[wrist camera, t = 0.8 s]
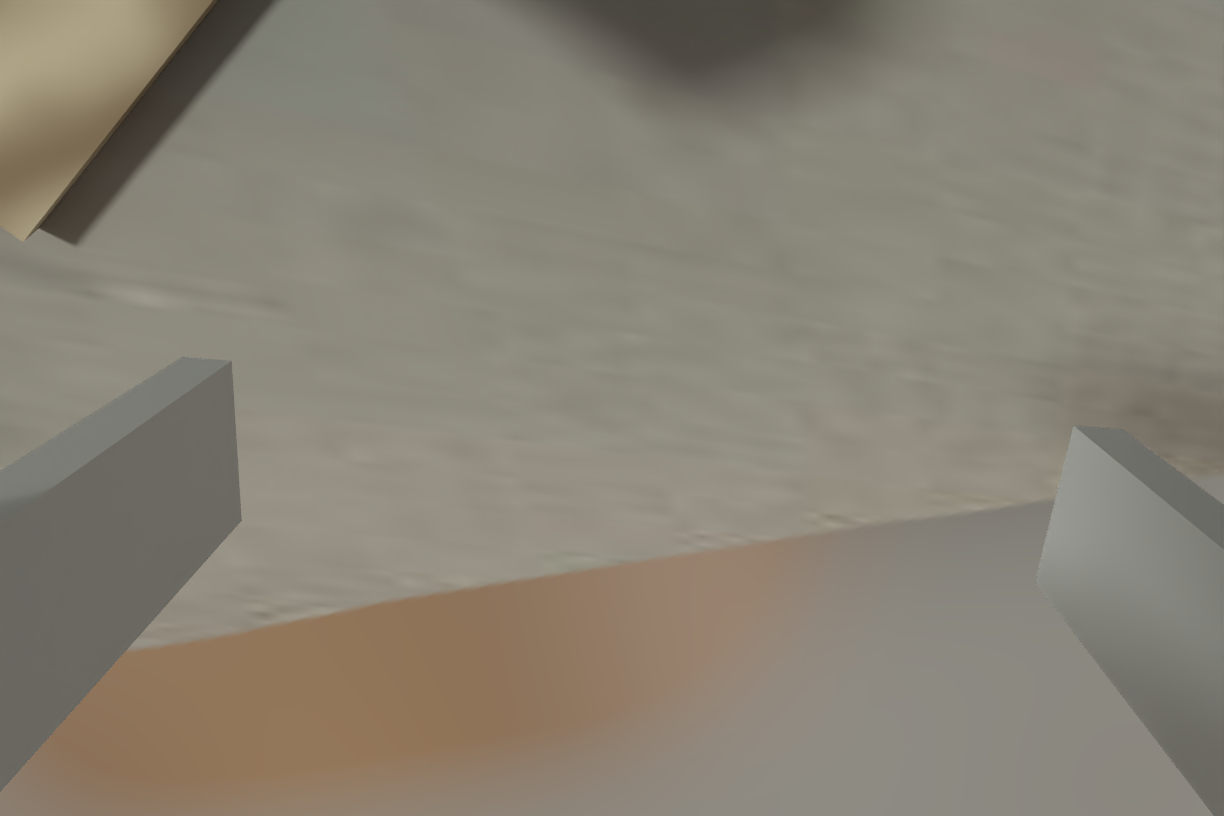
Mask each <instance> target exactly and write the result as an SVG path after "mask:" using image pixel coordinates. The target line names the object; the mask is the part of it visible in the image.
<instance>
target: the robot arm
mask: <svg viewBox="0 0 1224 816" xmlns="http://www.w3.org/2000/svg"><path fill="white" fill-rule="evenodd" d="M241 521H242V520H241V504H240V488H239V472H238V457H237V441H236V425H235V409H234V393H233V378H232V362H231V361H227V360H214V359H201V358H188V357H182V358H180V359H179V360H177V361H175V362H174V363H172V364H171V365H169V366H167V367H166V368H164V369H163V370H161V371H159V372H158V373H156V374H155V375H153V376H151V377H150V378H148V379H147V380H145V381H143V382H142V383H140V384H139V385H137V386H135V387H134V388H132V389H131V390H129V391H127V392H126V393H124V394H123V395H121V396H119V397H118V398H116V399H115V400H113V401H111V402H110V403H108V404H107V405H105V406H103V407H102V408H100V409H99V410H97V411H95V412H94V413H92V414H91V415H89V416H87V417H86V418H84V419H83V420H81V421H79V422H78V423H76V424H75V425H73V426H71V427H70V428H68V429H67V430H65V431H63V432H62V433H60V434H59V435H57V436H55V437H54V438H52V439H51V440H49V441H47V442H46V443H44V444H43V445H41V446H39V447H38V448H36V449H35V450H33V451H31V452H30V453H28V454H27V455H25V456H23V457H22V458H20V459H19V460H17V461H15V462H14V463H12V464H11V465H9V466H7V467H6V468H4V469H3V470H1V471H0V792H1V790H2V789H3V788H4V787H5V786H6V785H7V784H8V782H9V781H10V780H11V779H12V778H13V777H14V776H15V775H16V774H17V772H18V771H19V770H20V769H21V768H22V767H23V766H24V765H25V763H26V762H27V761H28V760H29V759H30V758H31V757H32V756H33V754H34V753H35V752H36V751H37V750H38V749H39V748H40V747H41V745H42V744H43V743H44V742H45V741H46V740H47V739H48V738H49V736H50V735H51V734H52V733H53V732H54V731H55V730H56V729H57V727H58V726H59V725H60V724H61V723H62V722H63V721H64V720H65V718H66V717H67V716H68V715H69V714H70V712H72V711H73V709H74V708H75V707H76V706H77V705H78V704H79V703H80V702H81V700H82V699H83V698H84V697H85V696H86V695H87V694H88V693H89V691H90V690H91V689H92V688H93V687H94V686H95V685H96V683H97V682H98V681H99V680H100V679H101V678H102V677H103V676H104V675H105V673H106V672H107V671H108V670H109V669H110V668H111V667H112V665H113V664H114V663H115V662H116V661H117V660H118V659H119V658H120V657H121V655H122V654H123V653H124V652H125V651H126V650H127V649H128V648H129V646H130V645H131V644H132V643H133V642H134V641H135V640H136V639H137V637H138V636H139V635H140V634H141V633H142V632H143V631H144V630H145V628H146V627H147V626H148V625H149V624H150V623H151V622H152V621H153V619H154V618H155V617H156V616H157V615H158V614H159V613H160V612H161V610H162V609H163V608H164V607H165V606H166V605H167V604H168V603H169V601H170V600H171V599H172V598H173V597H174V596H175V595H176V594H177V592H178V591H179V590H180V589H181V588H182V587H183V586H184V585H185V583H186V582H187V581H188V580H189V579H190V578H191V577H192V576H193V574H194V573H195V572H196V571H197V570H198V569H199V568H200V567H201V566H202V564H203V563H204V562H205V561H206V560H207V559H208V558H209V557H210V555H211V554H212V553H213V552H214V551H215V550H216V549H217V548H218V546H219V545H220V544H221V543H222V542H223V541H224V540H225V539H226V537H227V536H228V535H229V534H230V533H231V532H232V531H233V530H234V528H235V527H236V526H237V525H238V524H239V523H240V522H241ZM1035 583H1036V584H1037V585H1038V587H1039V588H1040V589H1041V591H1042V592H1043V593H1044V595H1045V596H1046V597H1047V598H1048V600H1049V601H1050V602H1051V604H1052V605H1053V606H1054V608H1055V609H1056V610H1057V612H1058V613H1059V614H1060V615H1061V617H1062V618H1063V619H1064V620H1065V622H1066V623H1067V624H1068V626H1069V627H1070V628H1071V630H1072V631H1073V632H1074V634H1075V635H1076V636H1077V637H1078V639H1079V640H1080V642H1081V643H1082V644H1083V645H1084V647H1085V648H1086V649H1087V651H1088V652H1089V653H1090V654H1091V656H1092V657H1093V658H1094V660H1095V661H1096V662H1097V664H1098V665H1099V666H1100V668H1101V669H1102V670H1103V672H1104V673H1105V674H1106V676H1107V677H1108V678H1109V679H1110V681H1111V682H1112V683H1113V685H1114V686H1115V687H1116V689H1117V690H1118V691H1119V692H1120V694H1121V695H1122V696H1123V698H1124V699H1125V700H1126V702H1127V703H1128V704H1129V706H1130V707H1131V708H1132V709H1133V711H1134V712H1135V713H1136V715H1137V716H1138V717H1139V719H1140V720H1141V721H1142V722H1143V724H1144V725H1145V726H1146V728H1147V729H1148V730H1149V732H1150V733H1151V734H1152V736H1153V737H1154V738H1155V739H1156V741H1157V742H1158V743H1159V745H1160V746H1161V747H1162V749H1163V750H1164V751H1165V753H1166V754H1167V755H1168V756H1169V757H1170V759H1171V760H1172V762H1173V763H1174V764H1175V766H1176V767H1177V768H1178V769H1179V771H1180V772H1181V773H1182V775H1183V776H1184V777H1185V779H1186V780H1187V781H1188V783H1189V784H1190V785H1191V786H1192V788H1193V789H1194V790H1195V791H1196V793H1197V794H1198V796H1199V797H1200V798H1201V799H1202V801H1203V802H1204V803H1205V805H1206V806H1207V807H1208V809H1209V810H1210V811H1211V812H1212V814H1213V815H1214V816H1224V505H1223V504H1222V503H1220V502H1219V501H1218V500H1216V499H1215V498H1214V497H1212V496H1211V495H1210V494H1208V493H1207V492H1205V491H1204V490H1203V489H1201V488H1200V487H1199V486H1198V485H1196V484H1195V483H1194V482H1192V481H1191V480H1190V479H1188V478H1187V477H1186V476H1184V475H1183V474H1182V473H1180V472H1179V471H1178V470H1176V469H1175V468H1174V467H1172V466H1171V465H1170V464H1168V463H1167V462H1166V461H1164V460H1163V459H1162V458H1160V457H1159V456H1158V455H1156V454H1155V453H1154V452H1152V451H1151V450H1150V449H1148V448H1147V447H1146V446H1144V445H1143V444H1142V443H1140V442H1139V441H1138V440H1136V439H1135V438H1134V437H1132V436H1131V435H1130V434H1128V433H1127V432H1126V431H1124V430H1122V429H1109V428H1096V427H1083V426H1073V430H1072V434H1071V438H1070V442H1069V447H1068V451H1067V455H1066V459H1065V463H1064V467H1063V471H1062V475H1061V479H1060V483H1059V487H1058V491H1057V495H1056V499H1055V503H1054V507H1053V511H1052V516H1051V519H1050V524H1049V528H1048V532H1047V536H1046V540H1045V544H1044V548H1043V552H1042V556H1041V560H1040V564H1039V568H1038V572H1037V576H1036V580H1035Z"/></svg>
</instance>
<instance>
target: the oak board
mask: <svg viewBox="0 0 1224 816" xmlns="http://www.w3.org/2000/svg"><path fill="white" fill-rule="evenodd" d="M217 2H218V0H0V226H1V227H2V228H4V229H5V230H7V231H8V232H9V233H11V234H12V235H14V236H15V237H17V238H18V239H19V240H21V241H22V242H24V241H25V240H26V239H27V238H28V237H29V236H31V235H32V234H33V233H34V232H35V231H36V230H37V229H38V228H39V227H40V226H41V225H42V223H43V222H44V221H45V220H46V218H47V217H48V216H49V214H50V213H51V212H52V211H53V209H54V208H55V207H56V206H57V204H58V203H59V202H60V201H61V199H62V198H63V197H64V195H65V194H66V193H67V192H68V190H69V189H70V188H71V187H72V185H73V184H74V183H75V182H76V180H77V179H78V178H79V176H80V175H81V174H82V173H83V171H84V170H85V169H86V168H87V166H88V165H89V164H90V163H91V161H92V160H93V159H94V157H95V156H96V155H97V154H98V152H99V151H100V150H101V149H102V147H103V146H104V145H105V144H106V142H107V141H108V140H109V138H110V137H111V136H112V135H113V133H114V132H115V131H116V130H117V128H118V127H119V126H120V124H121V123H122V122H123V121H124V119H125V118H126V117H127V116H128V114H129V113H130V112H131V111H132V109H133V108H134V107H135V105H136V104H137V103H138V102H139V100H140V99H141V98H142V97H143V95H144V94H145V93H146V92H147V90H148V89H149V88H150V86H151V85H152V84H153V83H154V81H155V80H156V79H157V78H158V76H159V75H160V74H161V73H162V71H163V70H164V69H165V67H166V66H167V65H168V64H169V62H170V61H171V60H172V59H173V57H174V56H175V55H176V54H177V52H178V51H179V50H180V48H181V47H182V46H183V45H184V43H185V42H186V41H187V40H188V38H189V37H190V36H191V35H192V33H193V32H194V31H195V29H196V28H197V27H198V26H199V24H200V23H201V22H202V21H203V19H204V18H205V17H206V16H207V14H208V13H209V12H210V10H211V9H212V8H213V7H214V5H215V4H216V3H217Z"/></svg>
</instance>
